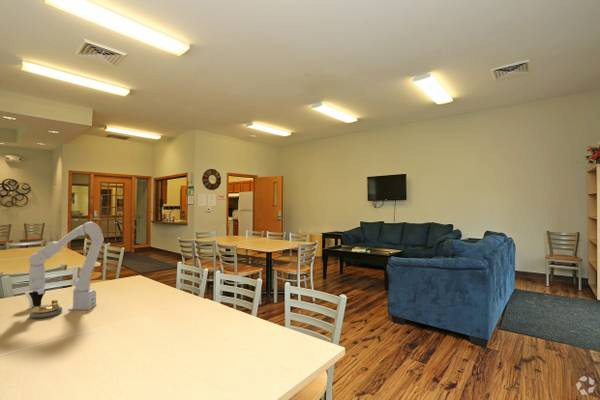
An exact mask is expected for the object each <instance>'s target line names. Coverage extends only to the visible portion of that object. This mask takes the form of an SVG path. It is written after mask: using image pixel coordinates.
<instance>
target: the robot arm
mask: <svg viewBox="0 0 600 400" xmlns="http://www.w3.org/2000/svg"><path fill="white" fill-rule="evenodd" d="M86 234H87V235H88V236H89V238H90V239H91V241H92V242H91V244H90V246H89V249H88V251H87V254H86V257H85V259H84V262H83V265H82V266H81V267H82V268H81V270H80V271H79V272H78V275H77V276H76V277H75V278H74V279H73V284H74V287H75V288H74V289H72V307H69V308H68V311H70V310H72V311H73V310H74V311H75V310H77V311H78V310H80V311H81V310H82V311H84V310H85V311H86V310H87V311H88V310H89V309H91V308H93V307H95V306H97V305H98V304H97V291H96V290H94V289H91V279H92V274H93V273H92V272H93V270H94V267H95V264H96V262H97V259H98V257H99V253H100V252H101V248H102V246H103V243H104V240H105V238H104V235H103V232H102V228H101V227H100V225H98V224H97V223H96V222H94V221H86V222H85V223H83V224H80V225H79V226H77V227H76V228H74V229H72V230H71V231H70V232H68V233H67V234H65V235H64V236H63V237H62V238H60V239H59V240H58V241H56V240H55V241H48V242H47V243H46V245H45V246H43V247H42V248H40V249H37V250H36V252H34V253H32V254H31V255H30V256H29V258H28V261H29V270H28V271H29V272H28V275H29V276H28V288H26V289H25V291H33V292H30V293H29V295H30V296H31V298H32V301H33V306H34V308H35V306H40V305H41V306H42V300H43V297H44V295H45V293H46V290H45V289H46V267H45V264H46V261H47V260H48V259H50V258H52V257H53V256H55V255H57V254H58V253H59V252H61V251H62V249H63V246H65V245H66V244H67V243H69V242H71V241H72V240H74V239H76V238H77V237H80V236H85V235H86Z"/></svg>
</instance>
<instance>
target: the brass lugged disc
mask: <svg viewBox="0 0 600 400" xmlns="http://www.w3.org/2000/svg"><path fill="white" fill-rule="evenodd" d="M60 307H61V305H60V304H59V301H58V299H53V300H51V303H50V304H49V303H48V304H44V305H43V304H41V305H40V306H35V307H34V308H32V311H33V313H35V314H42V313H48V312H53V311H56V310H58V309H59V308H60Z"/></svg>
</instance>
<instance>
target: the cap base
mask: <svg viewBox="0 0 600 400" xmlns="http://www.w3.org/2000/svg"><path fill="white" fill-rule="evenodd" d="M62 313H63V307H62V306H60V308H59V309H58V310H56V311H53V312H48V313H42V314H35V313H33V310H31V311H30V312H29V319H31V320H42V319H43V320H44V319H48V318H53V317H56V316H60V315H61V314H62Z"/></svg>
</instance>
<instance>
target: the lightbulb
mask: <svg viewBox="0 0 600 400" xmlns="http://www.w3.org/2000/svg"><path fill="white" fill-rule="evenodd" d="M30 292H33V291H26V290H25V292H24V295H25V297H26V298H27V301H28V303H29V308H32V309H34V308H35V307H34V306H33V301H32V298H31V296H30V295H29V293H30Z"/></svg>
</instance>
